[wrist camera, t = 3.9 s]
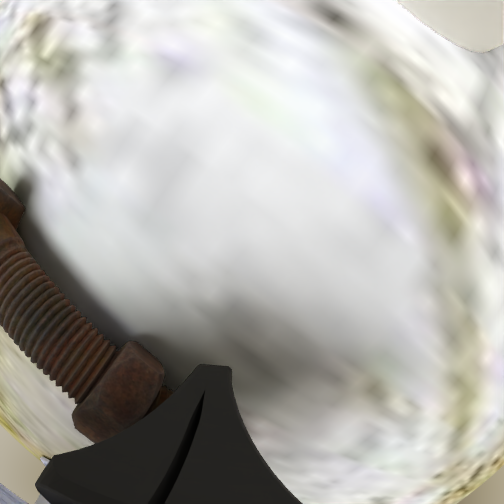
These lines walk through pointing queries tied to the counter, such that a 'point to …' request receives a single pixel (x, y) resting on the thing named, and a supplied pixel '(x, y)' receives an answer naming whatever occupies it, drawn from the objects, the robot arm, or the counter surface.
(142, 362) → the bolt
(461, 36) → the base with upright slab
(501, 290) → the counter surface
